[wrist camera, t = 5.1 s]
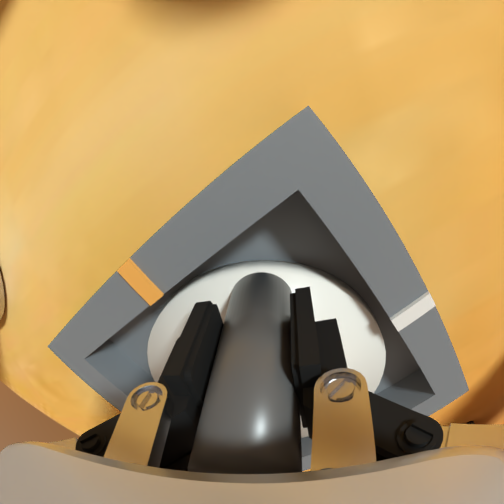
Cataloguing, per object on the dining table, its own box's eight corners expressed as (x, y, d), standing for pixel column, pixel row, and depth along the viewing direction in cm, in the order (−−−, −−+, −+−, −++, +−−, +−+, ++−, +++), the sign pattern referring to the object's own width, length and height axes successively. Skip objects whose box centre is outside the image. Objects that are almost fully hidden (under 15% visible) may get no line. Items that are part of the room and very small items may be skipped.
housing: (248, 452, 22) (244, 487, 19) (75, 315, 17) (45, 348, 14) (449, 355, 17) (470, 392, 13) (299, 112, 12) (309, 105, 9)
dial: (358, 422, 18) (377, 538, 9) (179, 421, 19) (147, 532, 10) (398, 256, 13) (506, 410, 4) (131, 261, 14) (13, 400, 5)
